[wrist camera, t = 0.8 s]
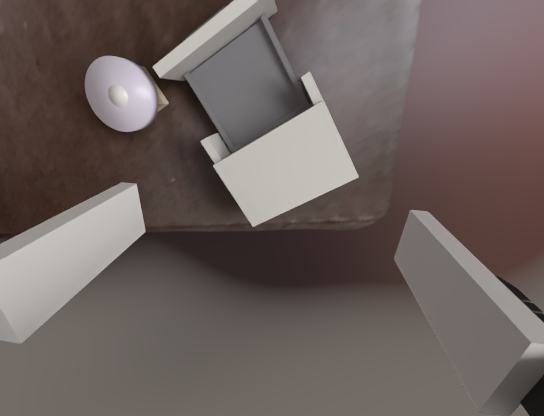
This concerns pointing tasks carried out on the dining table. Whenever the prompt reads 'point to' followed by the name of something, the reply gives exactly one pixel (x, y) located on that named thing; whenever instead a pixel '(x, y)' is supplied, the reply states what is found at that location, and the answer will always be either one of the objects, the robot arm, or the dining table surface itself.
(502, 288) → the robot arm
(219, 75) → the tray
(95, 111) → the lid
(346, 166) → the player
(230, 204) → the dining table surface
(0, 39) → the dining table surface
